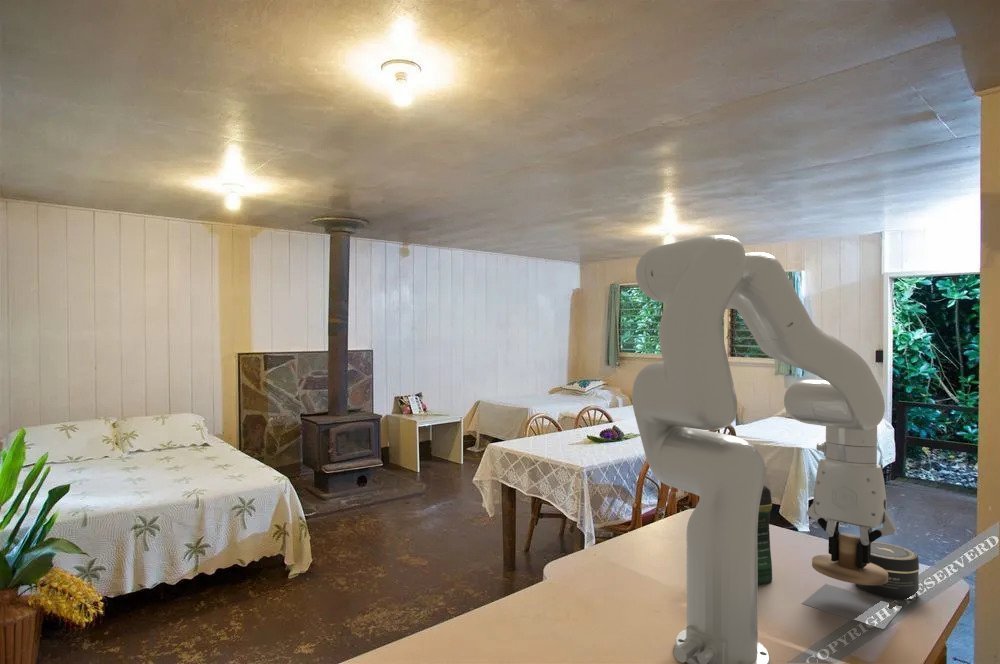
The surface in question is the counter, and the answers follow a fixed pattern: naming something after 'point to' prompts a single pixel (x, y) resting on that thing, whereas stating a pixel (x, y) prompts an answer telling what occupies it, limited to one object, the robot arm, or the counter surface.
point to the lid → (849, 564)
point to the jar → (894, 571)
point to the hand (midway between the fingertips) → (849, 562)
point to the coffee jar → (764, 539)
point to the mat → (842, 601)
